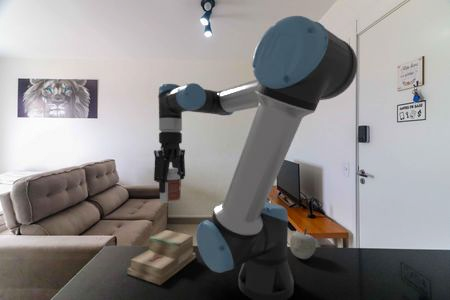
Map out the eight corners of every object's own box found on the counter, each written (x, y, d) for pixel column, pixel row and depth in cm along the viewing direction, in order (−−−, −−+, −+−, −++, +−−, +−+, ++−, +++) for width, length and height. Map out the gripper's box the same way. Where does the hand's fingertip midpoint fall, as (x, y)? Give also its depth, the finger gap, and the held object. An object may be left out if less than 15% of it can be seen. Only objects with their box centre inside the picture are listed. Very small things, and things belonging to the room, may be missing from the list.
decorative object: (287, 260, 81) (287, 231, 80) (292, 250, 89) (292, 223, 88) (314, 266, 77) (315, 235, 77) (317, 254, 85) (317, 227, 84)
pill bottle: (183, 201, 79) (183, 168, 79) (165, 203, 75) (165, 169, 75) (176, 198, 84) (175, 167, 84) (159, 200, 80) (158, 168, 80)
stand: (195, 257, 82) (195, 234, 82) (160, 285, 66) (160, 256, 66) (166, 250, 88) (166, 228, 88) (127, 273, 72) (126, 247, 71)
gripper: (178, 133, 90) (178, 193, 90) (140, 130, 72) (141, 205, 73) (195, 132, 86) (195, 195, 87) (159, 129, 69) (160, 208, 69)
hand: (170, 200), depth 80 cm, fingers closed on pill bottle, 6 cm apart
